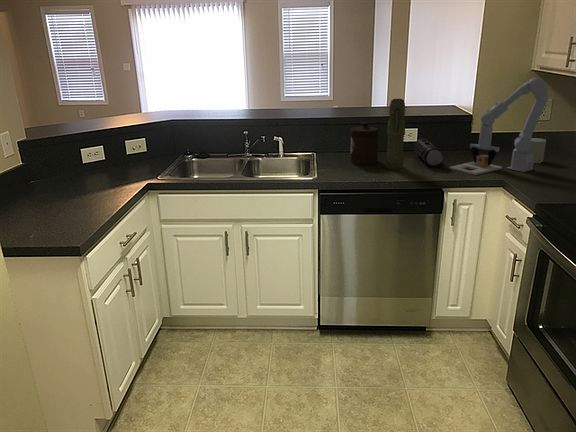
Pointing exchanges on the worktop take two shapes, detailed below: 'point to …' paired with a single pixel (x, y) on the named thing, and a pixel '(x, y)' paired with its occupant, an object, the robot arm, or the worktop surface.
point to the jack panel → (476, 170)
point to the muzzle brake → (428, 152)
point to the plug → (482, 161)
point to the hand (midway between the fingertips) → (482, 163)
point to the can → (537, 149)
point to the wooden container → (364, 144)
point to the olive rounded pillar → (396, 135)
